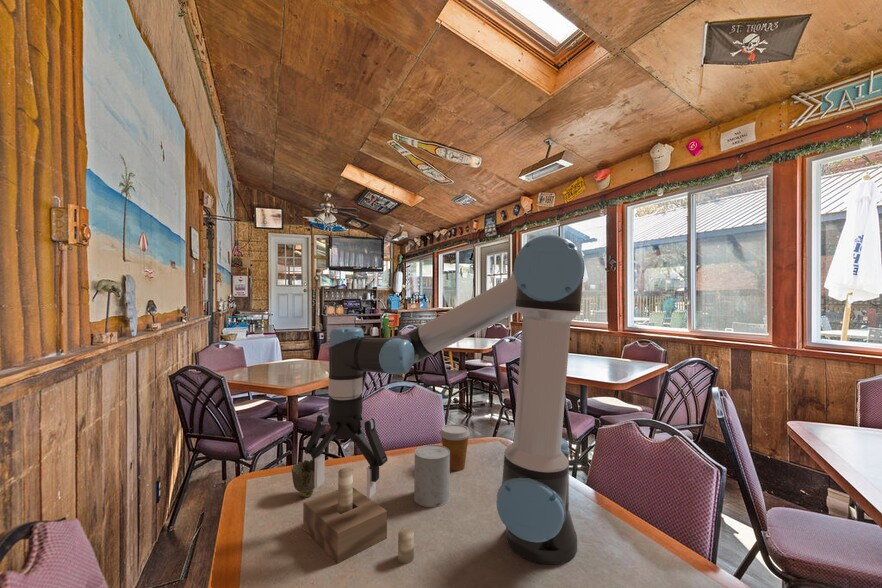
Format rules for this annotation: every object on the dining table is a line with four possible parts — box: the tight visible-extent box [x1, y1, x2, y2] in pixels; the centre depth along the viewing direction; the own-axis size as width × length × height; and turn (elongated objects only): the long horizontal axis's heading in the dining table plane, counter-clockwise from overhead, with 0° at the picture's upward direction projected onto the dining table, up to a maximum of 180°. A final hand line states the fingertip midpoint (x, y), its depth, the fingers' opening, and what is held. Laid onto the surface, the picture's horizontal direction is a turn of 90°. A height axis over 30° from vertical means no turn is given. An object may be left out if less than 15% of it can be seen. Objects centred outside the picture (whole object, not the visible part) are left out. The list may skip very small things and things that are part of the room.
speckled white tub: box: [413, 444, 451, 508], centre depth 102 cm, size 10×10×12 cm
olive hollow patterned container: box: [291, 459, 316, 498], centre depth 103 cm, size 8×7×8 cm
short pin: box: [397, 528, 415, 565], centre depth 78 cm, size 3×3×5 cm
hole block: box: [302, 487, 388, 564], centre depth 87 cm, size 16×12×6 cm
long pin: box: [337, 467, 354, 514], centre depth 87 cm, size 3×3×14 cm
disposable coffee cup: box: [439, 423, 471, 472], centre depth 121 cm, size 10×10×12 cm
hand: (344, 490), depth 87 cm, fingers open, 13 cm apart
